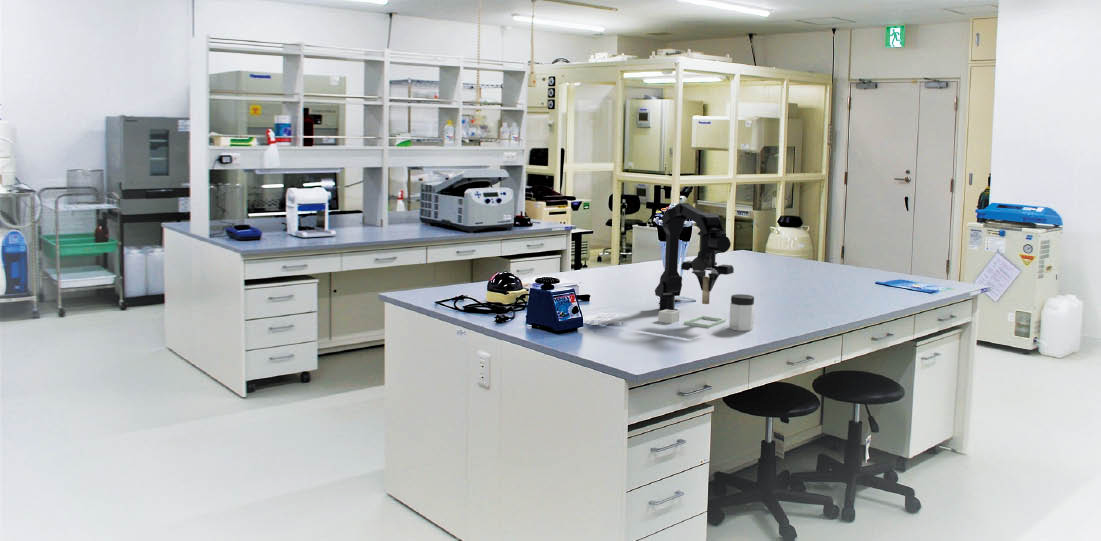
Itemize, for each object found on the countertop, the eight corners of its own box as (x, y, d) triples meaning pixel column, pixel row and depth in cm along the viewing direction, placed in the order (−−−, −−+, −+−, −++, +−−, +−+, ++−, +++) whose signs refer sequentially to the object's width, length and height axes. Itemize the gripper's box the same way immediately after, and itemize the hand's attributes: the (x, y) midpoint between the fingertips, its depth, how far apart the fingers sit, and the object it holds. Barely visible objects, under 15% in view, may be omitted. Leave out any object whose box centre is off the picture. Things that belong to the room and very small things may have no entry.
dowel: (704, 302, 330) (705, 275, 328) (710, 303, 328) (711, 276, 327) (700, 303, 328) (701, 276, 326) (707, 304, 326) (708, 277, 325)
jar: (732, 325, 330) (734, 293, 328) (754, 327, 326) (756, 295, 324) (727, 329, 322) (728, 297, 320) (749, 332, 318) (751, 299, 316)
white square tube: (665, 321, 335) (666, 309, 335) (678, 323, 332) (679, 311, 331) (658, 323, 331) (658, 311, 330) (671, 325, 328) (671, 313, 327)
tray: (701, 320, 338) (701, 315, 337) (725, 323, 332) (726, 319, 332) (684, 326, 327) (684, 321, 326) (708, 330, 321) (708, 325, 320)
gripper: (674, 248, 324) (673, 290, 326) (721, 253, 313) (719, 296, 315) (689, 245, 333) (687, 286, 335) (735, 250, 322) (733, 292, 324)
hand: (706, 290), depth 327 cm, fingers closed on dowel, 3 cm apart
